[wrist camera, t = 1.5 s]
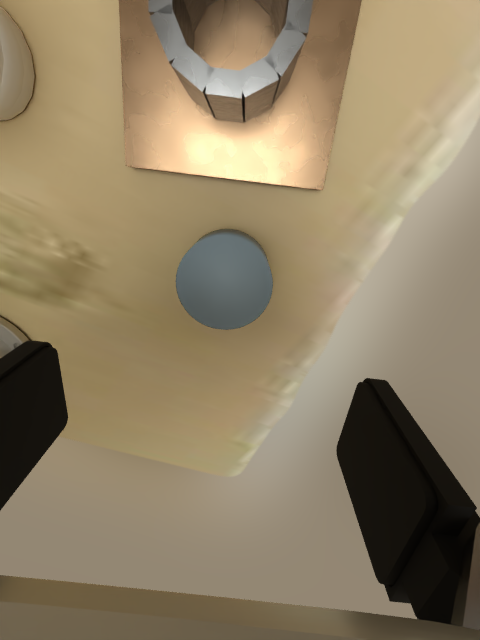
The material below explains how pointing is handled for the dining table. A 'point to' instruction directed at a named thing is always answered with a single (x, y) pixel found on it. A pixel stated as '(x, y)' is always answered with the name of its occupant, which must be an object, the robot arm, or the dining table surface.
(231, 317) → the cap
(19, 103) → the bottle
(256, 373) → the dining table surface
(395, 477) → the robot arm
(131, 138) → the copper square plate
